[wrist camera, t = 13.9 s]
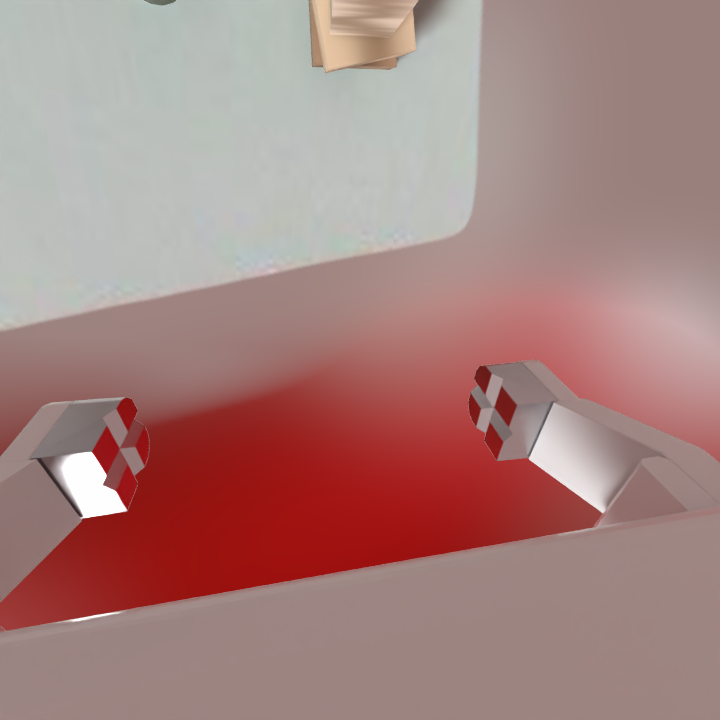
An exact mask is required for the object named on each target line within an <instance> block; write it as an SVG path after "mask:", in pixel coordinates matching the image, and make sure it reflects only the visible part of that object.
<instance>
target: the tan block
mask: <svg viewBox="0 0 720 720" xmlns="http://www.w3.org/2000/svg"><path fill="white" fill-rule="evenodd" d="M418 1H419V0H329V13H330V35H338V36H361V37H384V38H391V36H392V35H393V34H394V32H395V31H396V30H397V29H398V27H399V26H400V25H401V23H402V22H403V21H404V19H405V18H406V17H407V15H408V14H409V13H410V11H411V10H412V9H413V7H414V6H415V5H416V4H417V2H418Z"/></svg>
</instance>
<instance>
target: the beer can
mask: <svg viewBox="0 0 720 720" xmlns="http://www.w3.org/2000/svg"><path fill="white" fill-rule="evenodd" d="M145 1H147V2H149V3H150V4H156V5H166V4H170V3H173V2H174V1H176V0H145Z"/></svg>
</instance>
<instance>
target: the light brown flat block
mask: <svg viewBox="0 0 720 720" xmlns="http://www.w3.org/2000/svg"><path fill="white" fill-rule="evenodd" d="M309 12H310V33H311V54H312V67H323V62H322V57H321V52H320V46H319V41H318V36H317V31H316V25H315V20H314V15H313V10H312V4H311V0H309ZM394 67H397V57H394V58H389V59H385V60H380V61H376V62H372V63H367V64H363V65H358V66H354V67H350V68H358V69H385V70H389V69H392V68H394Z"/></svg>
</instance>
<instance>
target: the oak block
mask: <svg viewBox="0 0 720 720" xmlns="http://www.w3.org/2000/svg"><path fill="white" fill-rule="evenodd" d="M311 4H312V10H313V15H314V20H315V25H316V31H317V36H318V41H319V46H320V52H321V57H322V62H323V67H324V73H328V72H332V71H336V70H341V69H345V68H350V67H354V66H358V65H363V64H367V63H372V62H376V61H380V60H385V59H389V58H394V57H398V56H402V55H406V54H408V53H410V52H412V51H415V50H416V45H415V31H414V16H413V9H412V10H411V11H410V13H409V14H408V15H407V17H406V18H405V19H404V21H403V22H402V23H401V25H400V26H399V27H398V29H397V30H396V31H395V32H394V34H393V35H392V36H391V38H384V37H361V36H338V35H330V13H329V0H311Z"/></svg>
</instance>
